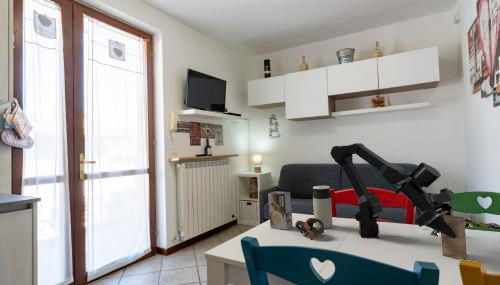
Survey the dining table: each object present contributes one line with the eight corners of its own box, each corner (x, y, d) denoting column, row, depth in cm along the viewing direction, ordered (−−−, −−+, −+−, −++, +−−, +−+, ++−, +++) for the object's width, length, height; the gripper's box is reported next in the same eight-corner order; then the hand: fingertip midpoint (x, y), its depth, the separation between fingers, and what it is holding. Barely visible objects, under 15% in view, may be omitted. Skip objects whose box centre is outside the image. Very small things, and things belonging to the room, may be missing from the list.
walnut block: (442, 255, 88) (439, 217, 88) (448, 251, 91) (445, 214, 91) (461, 260, 84) (458, 220, 84) (466, 255, 87) (464, 217, 87)
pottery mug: (323, 233, 119) (327, 218, 115) (320, 250, 111) (324, 235, 107) (295, 225, 122) (298, 211, 118) (291, 241, 114) (293, 226, 110)
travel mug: (334, 228, 122) (332, 187, 123) (316, 229, 123) (314, 188, 123) (329, 223, 130) (327, 185, 131) (312, 224, 130) (310, 186, 131)
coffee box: (293, 226, 129) (291, 191, 129) (287, 230, 123) (285, 194, 124) (276, 224, 134) (274, 191, 134) (269, 227, 129) (267, 193, 129)
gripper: (423, 184, 86) (470, 226, 77) (445, 178, 97) (488, 214, 88) (398, 206, 92) (439, 248, 83) (422, 198, 103) (460, 234, 94)
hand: (458, 235), depth 87 cm, fingers closed on walnut block, 5 cm apart
